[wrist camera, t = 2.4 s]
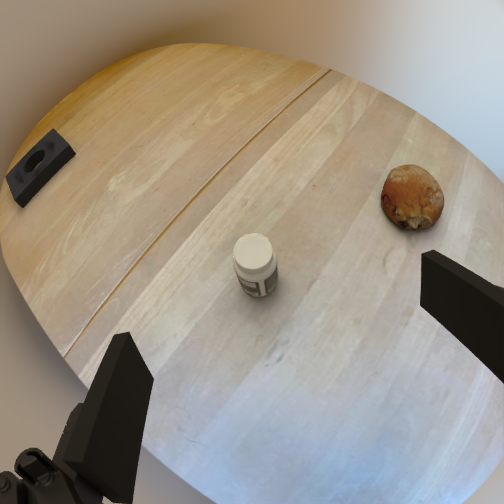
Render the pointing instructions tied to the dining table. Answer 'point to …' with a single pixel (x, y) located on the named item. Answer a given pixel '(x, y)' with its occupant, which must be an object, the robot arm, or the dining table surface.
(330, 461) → the dining table surface
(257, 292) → the pill bottle
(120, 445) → the robot arm
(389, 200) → the bread roll
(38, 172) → the black rectangular holder
